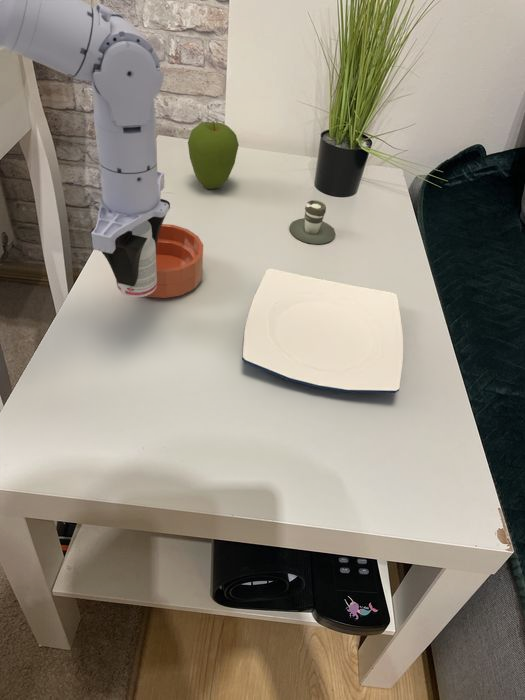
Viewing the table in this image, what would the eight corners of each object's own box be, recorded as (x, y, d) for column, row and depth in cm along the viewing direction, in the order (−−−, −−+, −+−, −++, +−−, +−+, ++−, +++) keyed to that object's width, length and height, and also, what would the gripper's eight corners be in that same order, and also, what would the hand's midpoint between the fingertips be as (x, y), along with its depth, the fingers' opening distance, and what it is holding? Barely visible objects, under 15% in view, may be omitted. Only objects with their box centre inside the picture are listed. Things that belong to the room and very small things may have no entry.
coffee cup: (359, 245, 86) (367, 218, 83) (296, 257, 82) (301, 229, 78) (323, 207, 93) (329, 182, 90) (263, 217, 89) (266, 190, 85)
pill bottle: (165, 284, 64) (164, 224, 59) (139, 304, 61) (135, 243, 55) (134, 269, 66) (130, 209, 60) (108, 288, 63) (101, 227, 57)
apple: (206, 203, 90) (209, 137, 82) (177, 182, 94) (177, 117, 86) (244, 190, 94) (250, 126, 86) (215, 171, 98) (219, 108, 90)
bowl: (115, 298, 70) (112, 268, 66) (128, 250, 78) (125, 220, 74) (199, 303, 71) (201, 274, 68) (203, 255, 79) (204, 227, 76)
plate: (400, 413, 61) (407, 398, 60) (230, 378, 62) (232, 363, 60) (397, 305, 76) (403, 290, 74) (260, 278, 77) (262, 263, 75)
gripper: (137, 203, 47) (144, 316, 56) (189, 140, 57) (188, 245, 67) (63, 186, 47) (82, 301, 57) (128, 127, 58) (135, 233, 67)
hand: (135, 270), depth 62 cm, fingers closed on pill bottle, 5 cm apart
